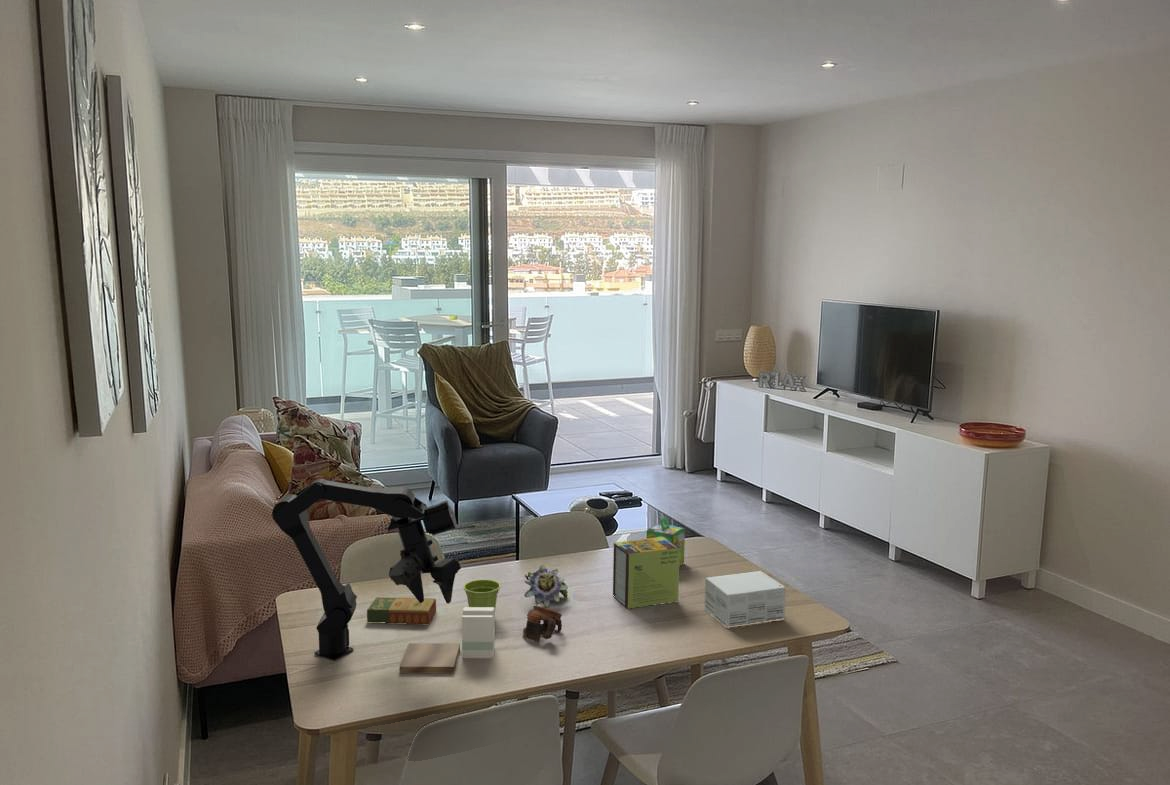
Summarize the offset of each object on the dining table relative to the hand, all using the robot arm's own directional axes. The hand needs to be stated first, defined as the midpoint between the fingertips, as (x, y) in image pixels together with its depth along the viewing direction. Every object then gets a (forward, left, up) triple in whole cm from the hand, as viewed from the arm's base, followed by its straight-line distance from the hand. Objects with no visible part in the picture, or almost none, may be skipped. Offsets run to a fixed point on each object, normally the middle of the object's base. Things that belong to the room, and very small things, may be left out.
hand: (435, 602), depth 202 cm
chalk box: (+82, -23, -12) cm, 86 cm away
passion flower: (+39, -6, -12) cm, 41 cm away
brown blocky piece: (+20, -18, -12) cm, 29 cm away
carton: (+11, +20, -12) cm, 26 cm away
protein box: (+54, -29, -12) cm, 63 cm away
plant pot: (+21, +2, -12) cm, 24 cm away
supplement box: (+57, -56, -12) cm, 81 cm away
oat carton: (+4, -9, -12) cm, 16 cm away
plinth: (-5, -2, -12) cm, 13 cm away
